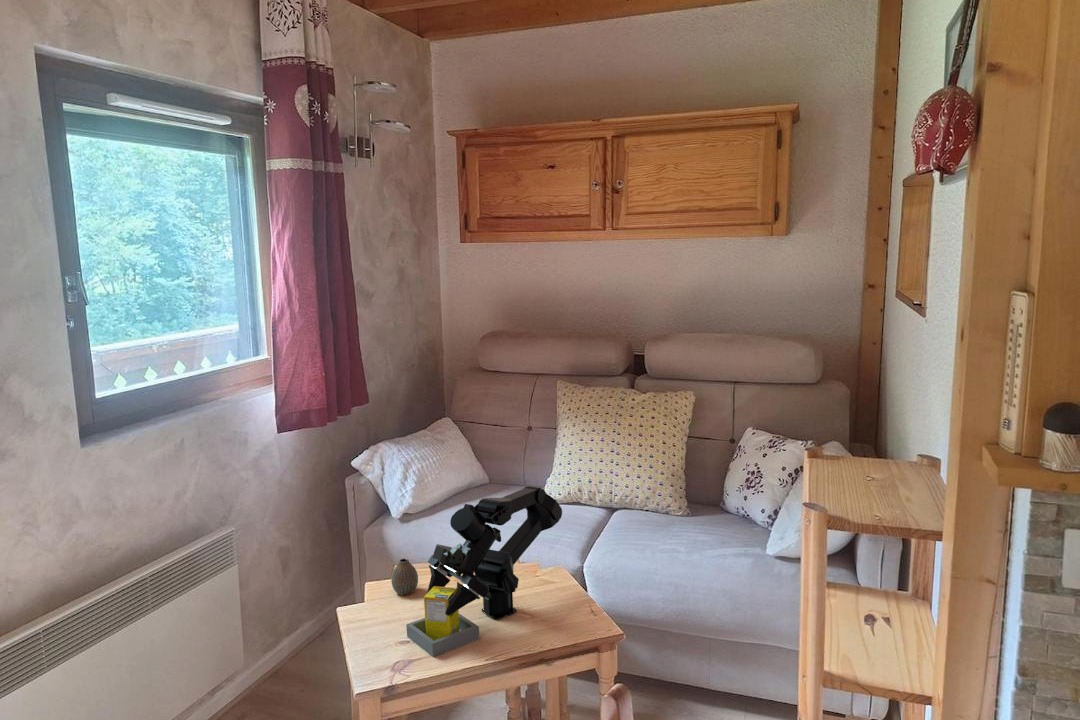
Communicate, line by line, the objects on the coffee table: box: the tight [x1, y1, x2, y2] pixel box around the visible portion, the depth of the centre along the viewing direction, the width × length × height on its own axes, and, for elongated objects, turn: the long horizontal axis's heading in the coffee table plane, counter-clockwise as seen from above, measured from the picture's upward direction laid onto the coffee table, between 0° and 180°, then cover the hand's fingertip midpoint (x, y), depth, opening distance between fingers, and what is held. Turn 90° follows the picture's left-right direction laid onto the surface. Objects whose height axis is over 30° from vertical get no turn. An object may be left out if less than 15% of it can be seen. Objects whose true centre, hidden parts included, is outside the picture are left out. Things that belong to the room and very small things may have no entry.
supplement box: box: [423, 586, 461, 641], centre depth 170 cm, size 6×6×11 cm
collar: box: [406, 613, 480, 658], centre depth 170 cm, size 12×12×3 cm
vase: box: [390, 558, 419, 596], centre depth 195 cm, size 7×7×9 cm
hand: (436, 607), depth 169 cm, fingers open, 9 cm apart
